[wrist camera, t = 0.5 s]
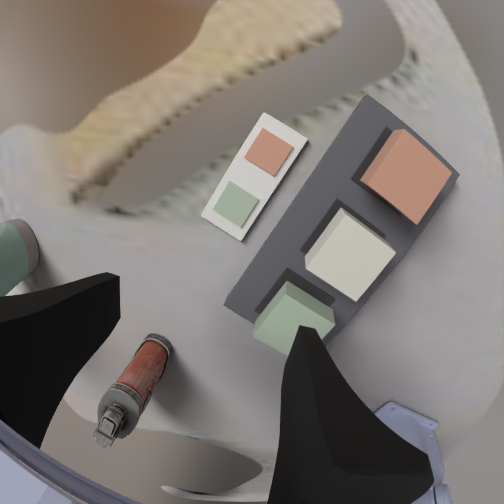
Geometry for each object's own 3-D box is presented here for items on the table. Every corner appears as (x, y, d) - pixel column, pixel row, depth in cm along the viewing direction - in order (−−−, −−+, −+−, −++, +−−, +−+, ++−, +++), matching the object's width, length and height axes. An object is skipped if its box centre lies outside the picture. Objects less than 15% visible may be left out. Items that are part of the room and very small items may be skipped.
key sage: (332, 309, 19) (335, 324, 17) (299, 345, 20) (299, 362, 18) (286, 280, 18) (285, 294, 17) (255, 320, 20) (251, 336, 18)
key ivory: (387, 242, 17) (396, 252, 15) (351, 287, 18) (356, 301, 16) (340, 207, 16) (345, 214, 15) (304, 256, 18) (305, 268, 16)
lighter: (154, 391, 28) (114, 463, 18) (126, 374, 28) (81, 442, 18) (180, 346, 25) (132, 432, 16) (147, 325, 25) (88, 404, 15)
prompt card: (307, 139, 18) (308, 139, 17) (241, 239, 21) (240, 242, 20) (264, 112, 17) (263, 111, 17) (202, 214, 20) (199, 216, 20)
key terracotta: (438, 169, 15) (452, 172, 13) (405, 216, 16) (417, 225, 14) (393, 130, 14) (404, 128, 13) (359, 180, 16) (367, 184, 14)
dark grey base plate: (451, 172, 17) (460, 174, 15) (313, 347, 23) (313, 358, 22) (363, 97, 16) (367, 93, 15) (227, 297, 22) (222, 306, 21)
